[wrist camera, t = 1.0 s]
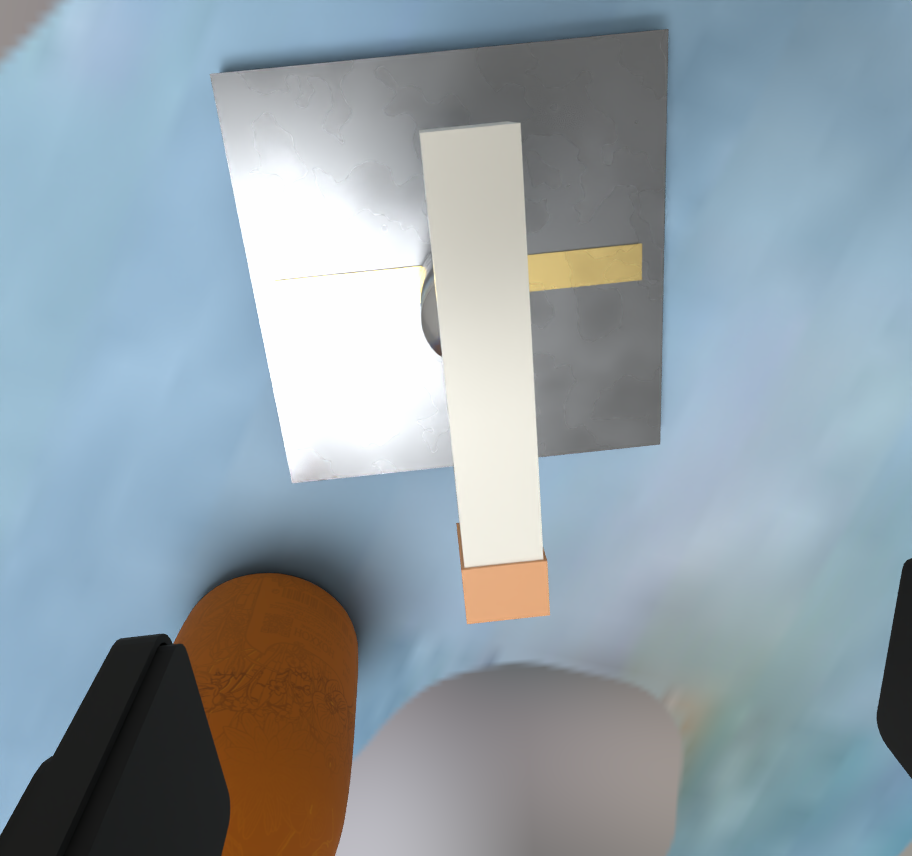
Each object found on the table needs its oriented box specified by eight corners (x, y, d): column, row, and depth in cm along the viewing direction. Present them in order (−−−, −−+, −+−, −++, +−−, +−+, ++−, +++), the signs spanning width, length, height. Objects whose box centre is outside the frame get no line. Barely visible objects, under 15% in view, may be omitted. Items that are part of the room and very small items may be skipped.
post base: (656, 32, 31) (734, 8, 23) (651, 432, 38) (709, 510, 30) (219, 75, 30) (157, 64, 23) (296, 469, 37) (268, 557, 30)
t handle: (495, 119, 24) (525, 122, 18) (521, 509, 29) (549, 614, 23) (414, 127, 24) (415, 133, 18) (455, 516, 29) (467, 624, 23)
